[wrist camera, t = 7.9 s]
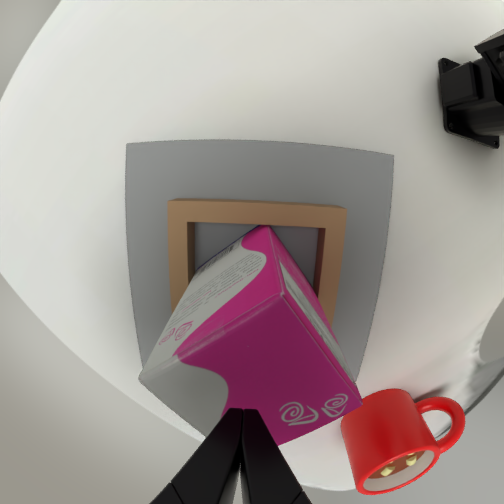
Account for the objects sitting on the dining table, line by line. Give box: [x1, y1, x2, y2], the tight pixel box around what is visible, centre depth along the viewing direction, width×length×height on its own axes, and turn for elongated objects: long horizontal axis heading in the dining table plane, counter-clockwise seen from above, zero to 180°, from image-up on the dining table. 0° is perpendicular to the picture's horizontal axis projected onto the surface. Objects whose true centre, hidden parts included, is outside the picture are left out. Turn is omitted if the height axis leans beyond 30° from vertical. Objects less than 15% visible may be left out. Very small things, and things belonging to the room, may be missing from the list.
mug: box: [341, 389, 465, 495], centre depth 19 cm, size 8×12×8 cm, turn 112°
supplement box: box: [138, 225, 363, 446], centre depth 14 cm, size 6×6×12 cm
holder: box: [125, 140, 394, 382], centre depth 19 cm, size 18×18×3 cm
